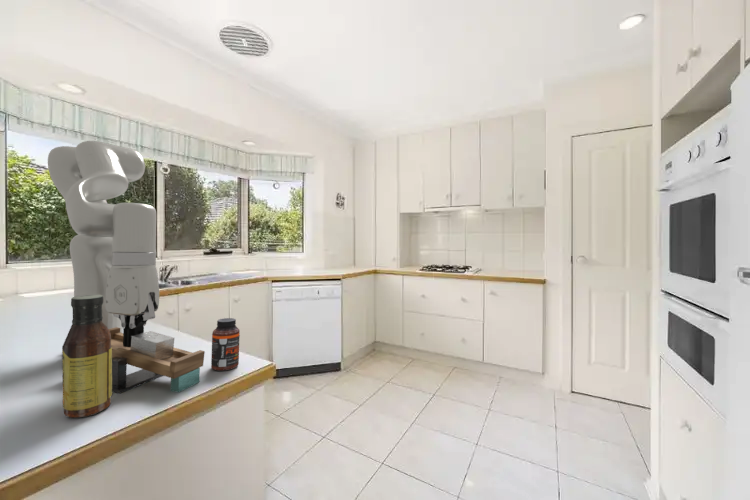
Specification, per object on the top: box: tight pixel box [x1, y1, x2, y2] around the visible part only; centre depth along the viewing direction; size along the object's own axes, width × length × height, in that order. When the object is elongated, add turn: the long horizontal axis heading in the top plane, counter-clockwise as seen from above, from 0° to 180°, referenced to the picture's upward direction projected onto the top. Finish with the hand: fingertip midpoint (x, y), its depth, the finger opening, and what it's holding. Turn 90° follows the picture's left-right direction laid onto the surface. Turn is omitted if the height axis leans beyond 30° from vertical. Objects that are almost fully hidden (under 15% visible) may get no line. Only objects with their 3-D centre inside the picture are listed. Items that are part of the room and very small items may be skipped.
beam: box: [109, 327, 206, 379], centre depth 67 cm, size 26×8×6 cm, turn 74°
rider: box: [130, 330, 175, 360], centre depth 66 cm, size 7×4×4 cm, turn 72°
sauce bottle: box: [61, 295, 113, 419], centre depth 53 cm, size 6×6×20 cm
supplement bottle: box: [210, 317, 241, 372], centre depth 74 cm, size 6×6×11 cm
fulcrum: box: [112, 357, 201, 394], centre depth 67 cm, size 26×13×6 cm, turn 74°
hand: (133, 345), depth 67 cm, fingers closed
